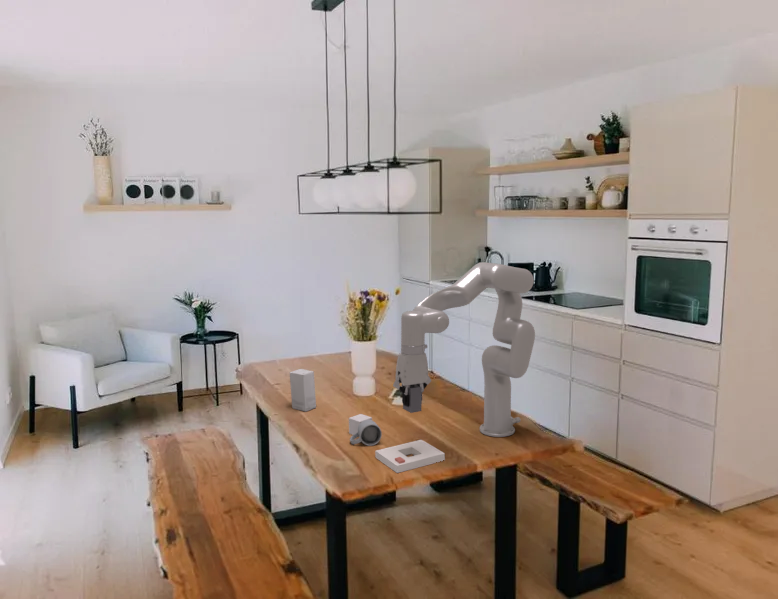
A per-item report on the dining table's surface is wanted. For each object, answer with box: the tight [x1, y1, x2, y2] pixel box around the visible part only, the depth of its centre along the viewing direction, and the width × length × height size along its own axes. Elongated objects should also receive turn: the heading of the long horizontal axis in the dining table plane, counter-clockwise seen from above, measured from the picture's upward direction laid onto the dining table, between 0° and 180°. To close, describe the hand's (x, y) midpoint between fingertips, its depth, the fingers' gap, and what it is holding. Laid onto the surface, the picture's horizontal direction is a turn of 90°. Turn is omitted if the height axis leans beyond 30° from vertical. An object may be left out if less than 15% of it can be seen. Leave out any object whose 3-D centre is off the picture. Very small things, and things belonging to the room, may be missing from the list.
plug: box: [402, 384, 423, 414], centre depth 207 cm, size 4×5×10 cm
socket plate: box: [374, 439, 446, 474], centre depth 208 cm, size 18×14×3 cm
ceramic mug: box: [349, 419, 383, 447], centre depth 223 cm, size 11×8×8 cm
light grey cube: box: [348, 413, 373, 436], centre depth 231 cm, size 6×6×6 cm
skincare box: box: [289, 368, 317, 412], centre depth 259 cm, size 8×7×16 cm
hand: (412, 403), depth 207 cm, fingers closed on plug, 4 cm apart
